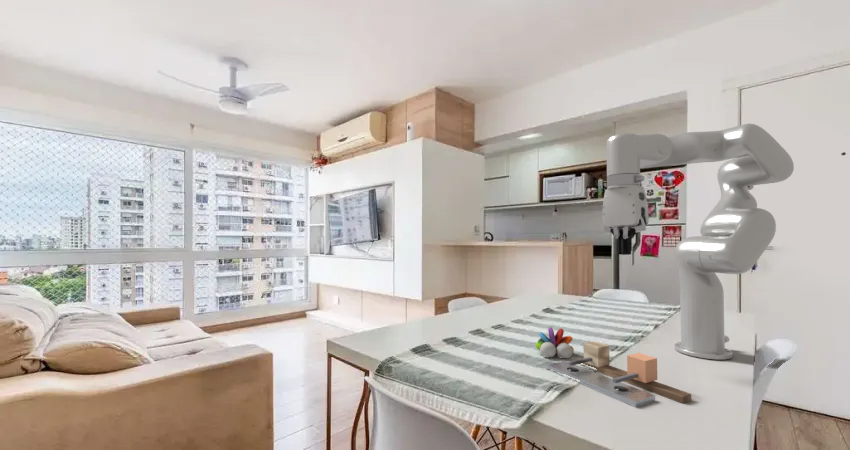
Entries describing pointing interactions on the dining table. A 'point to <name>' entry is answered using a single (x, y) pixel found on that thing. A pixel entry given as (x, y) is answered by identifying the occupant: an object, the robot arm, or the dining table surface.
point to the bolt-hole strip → (604, 384)
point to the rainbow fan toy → (555, 344)
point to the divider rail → (624, 372)
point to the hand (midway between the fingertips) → (624, 254)
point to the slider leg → (639, 368)
